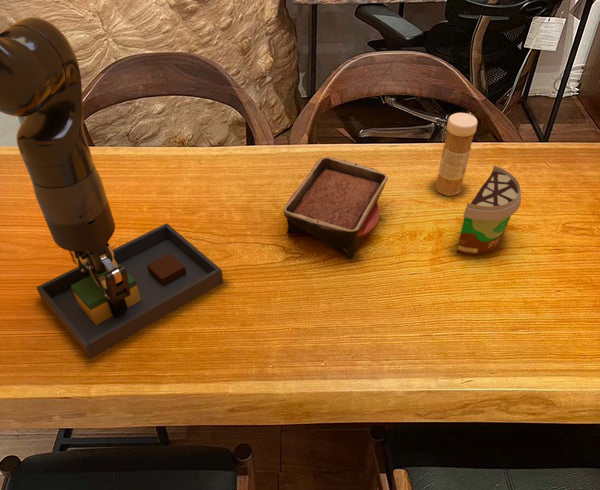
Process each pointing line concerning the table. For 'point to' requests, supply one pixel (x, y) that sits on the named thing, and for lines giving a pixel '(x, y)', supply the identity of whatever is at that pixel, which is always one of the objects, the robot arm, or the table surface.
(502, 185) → the food container
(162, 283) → the burnt scrap
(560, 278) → the table surface
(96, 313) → the sponge
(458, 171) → the sprinkles bottle
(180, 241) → the pan
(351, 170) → the soil filled planter
